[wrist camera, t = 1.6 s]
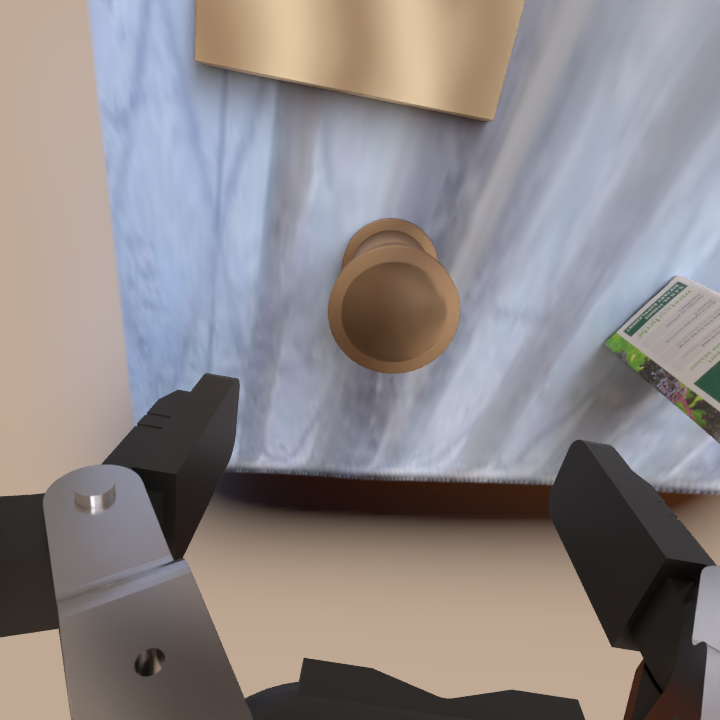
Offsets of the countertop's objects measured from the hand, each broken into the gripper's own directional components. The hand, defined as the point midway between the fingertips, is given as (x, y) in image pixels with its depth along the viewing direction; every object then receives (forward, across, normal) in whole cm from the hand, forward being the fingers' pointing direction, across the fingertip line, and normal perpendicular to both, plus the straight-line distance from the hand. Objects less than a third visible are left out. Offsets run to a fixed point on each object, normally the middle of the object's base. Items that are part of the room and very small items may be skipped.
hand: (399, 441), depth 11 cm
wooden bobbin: (+19, 0, 0) cm, 19 cm away
